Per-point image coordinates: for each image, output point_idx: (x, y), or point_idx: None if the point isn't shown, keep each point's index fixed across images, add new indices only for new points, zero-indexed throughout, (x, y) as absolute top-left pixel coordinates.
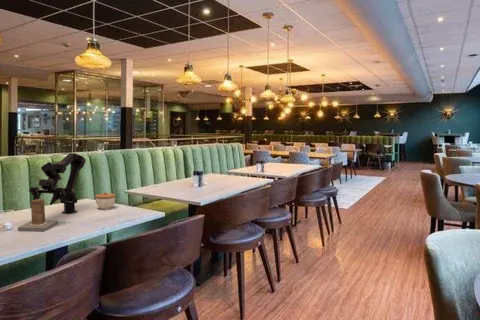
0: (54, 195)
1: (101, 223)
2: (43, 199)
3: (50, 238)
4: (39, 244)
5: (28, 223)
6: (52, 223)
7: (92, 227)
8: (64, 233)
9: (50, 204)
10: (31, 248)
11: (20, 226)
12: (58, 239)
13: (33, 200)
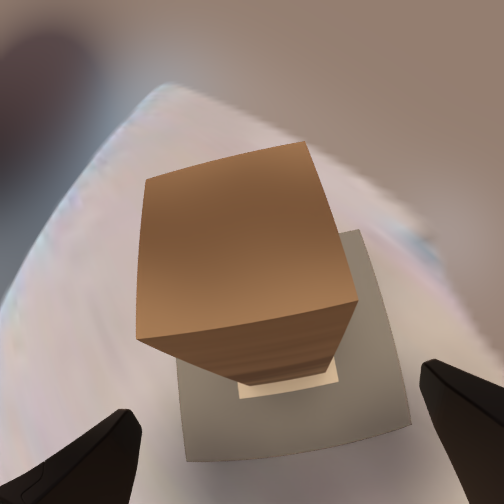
0: (5, 500)
1: (6, 457)
2: (150, 329)
3: (106, 207)
4: (120, 153)
5: (373, 330)
6: (180, 381)
7: (10, 391)
8: (75, 280)
9: (122, 410)
10: (130, 128)
11: (360, 249)
12: (77, 210)
13: (303, 185)
